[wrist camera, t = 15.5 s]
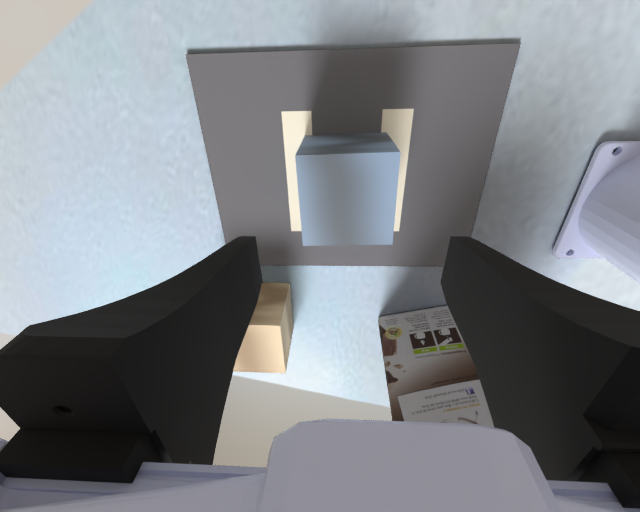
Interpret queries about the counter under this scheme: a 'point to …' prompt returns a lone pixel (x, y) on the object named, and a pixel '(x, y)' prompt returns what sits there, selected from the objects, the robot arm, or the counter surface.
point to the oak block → (268, 332)
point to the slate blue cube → (347, 188)
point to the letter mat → (351, 118)
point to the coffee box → (430, 370)
